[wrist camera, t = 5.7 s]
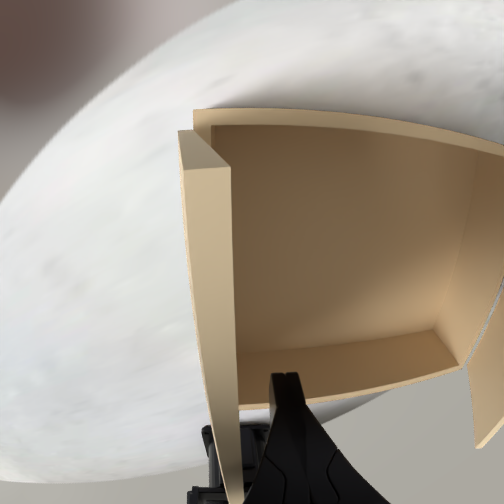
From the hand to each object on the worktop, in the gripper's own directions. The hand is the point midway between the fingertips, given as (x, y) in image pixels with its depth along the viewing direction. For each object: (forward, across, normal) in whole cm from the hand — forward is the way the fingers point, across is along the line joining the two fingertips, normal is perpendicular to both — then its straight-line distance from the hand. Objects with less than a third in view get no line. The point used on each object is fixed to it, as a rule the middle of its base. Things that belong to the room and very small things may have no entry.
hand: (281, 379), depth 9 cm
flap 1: (0, +2, 0) cm, 2 cm away
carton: (+10, -6, 0) cm, 11 cm away
